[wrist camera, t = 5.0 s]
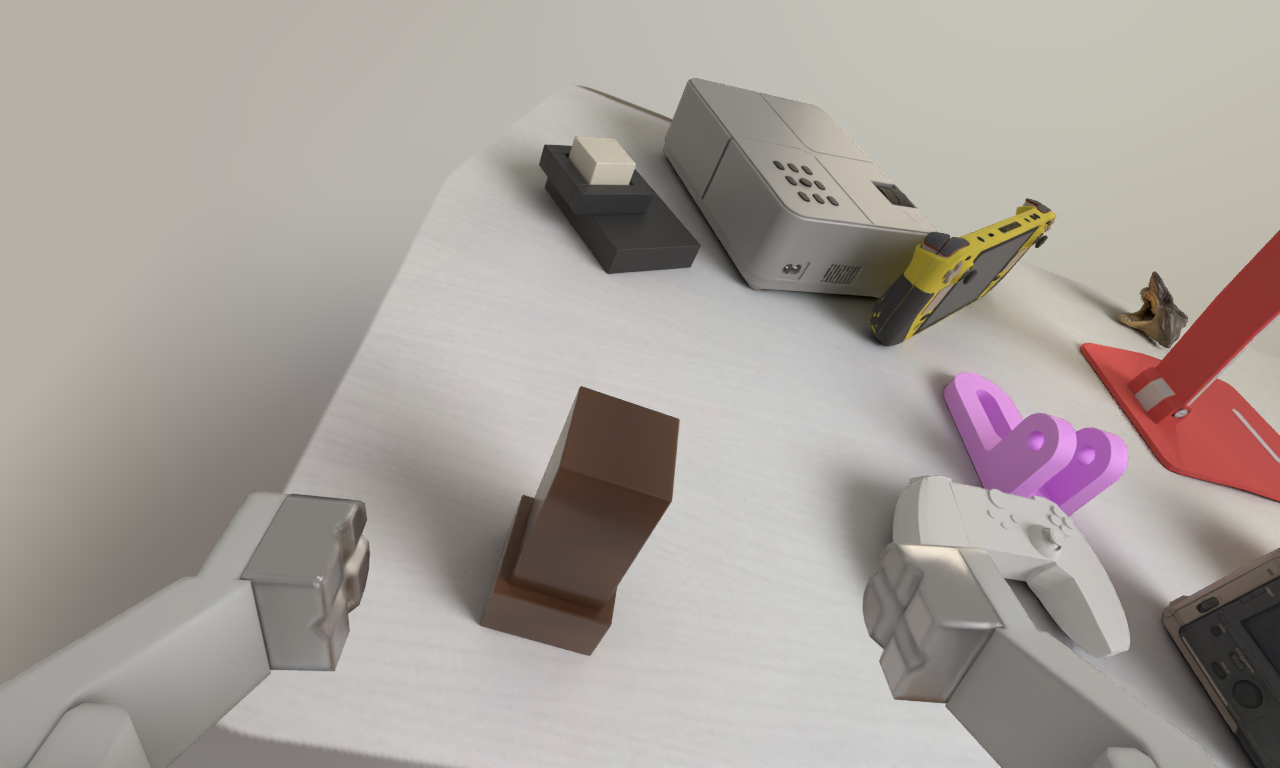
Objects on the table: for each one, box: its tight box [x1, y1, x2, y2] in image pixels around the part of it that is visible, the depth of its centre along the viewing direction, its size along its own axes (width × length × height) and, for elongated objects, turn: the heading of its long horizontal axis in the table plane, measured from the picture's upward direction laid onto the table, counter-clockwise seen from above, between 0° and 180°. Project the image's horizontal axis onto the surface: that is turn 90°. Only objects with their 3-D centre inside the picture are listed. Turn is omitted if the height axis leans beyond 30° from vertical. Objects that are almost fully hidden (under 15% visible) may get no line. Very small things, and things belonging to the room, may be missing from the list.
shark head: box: [1117, 272, 1188, 348], centre depth 77 cm, size 8×6×7 cm
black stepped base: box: [539, 145, 701, 274], centre depth 54 cm, size 9×11×4 cm
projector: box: [663, 78, 937, 298], centre depth 63 cm, size 17×22×8 cm
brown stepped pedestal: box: [480, 386, 680, 656], centre depth 28 cm, size 5×5×11 cm
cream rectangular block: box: [568, 136, 636, 185], centre depth 53 cm, size 4×4×2 cm
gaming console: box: [870, 199, 1057, 346], centre depth 61 cm, size 26×4×10 cm, turn 132°
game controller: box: [893, 476, 1130, 658], centre depth 40 cm, size 14×4×10 cm
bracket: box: [944, 372, 1128, 517], centre depth 50 cm, size 13×6×7 cm, turn 0°
